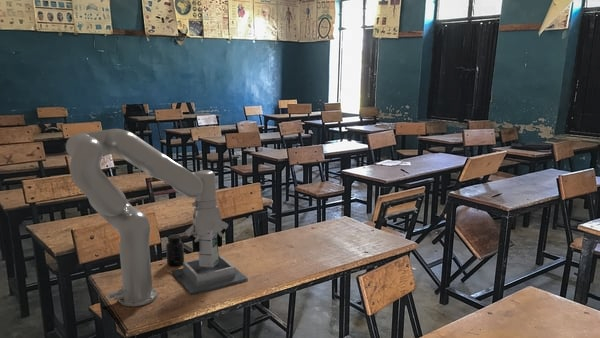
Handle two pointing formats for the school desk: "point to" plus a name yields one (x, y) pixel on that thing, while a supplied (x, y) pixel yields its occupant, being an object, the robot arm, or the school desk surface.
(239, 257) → the school desk surface
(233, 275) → the socket
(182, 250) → the supplement bottle
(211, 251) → the syrup box
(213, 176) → the robot arm
